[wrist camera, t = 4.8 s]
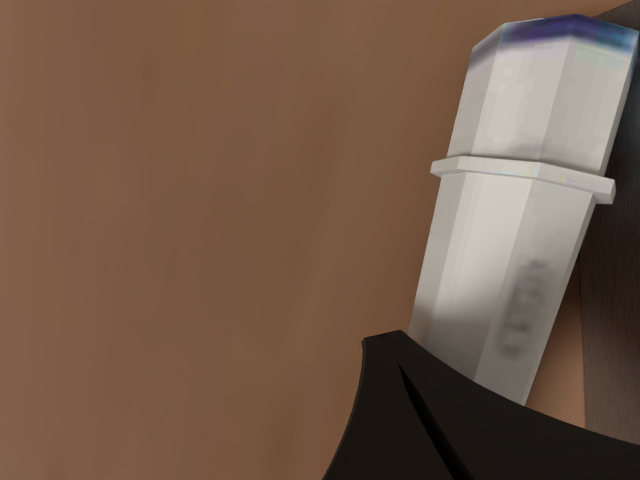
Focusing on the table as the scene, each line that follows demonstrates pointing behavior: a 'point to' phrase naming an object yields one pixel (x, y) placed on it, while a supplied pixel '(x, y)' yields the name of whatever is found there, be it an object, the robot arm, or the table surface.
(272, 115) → the table surface
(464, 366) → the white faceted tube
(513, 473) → the robot arm
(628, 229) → the block
